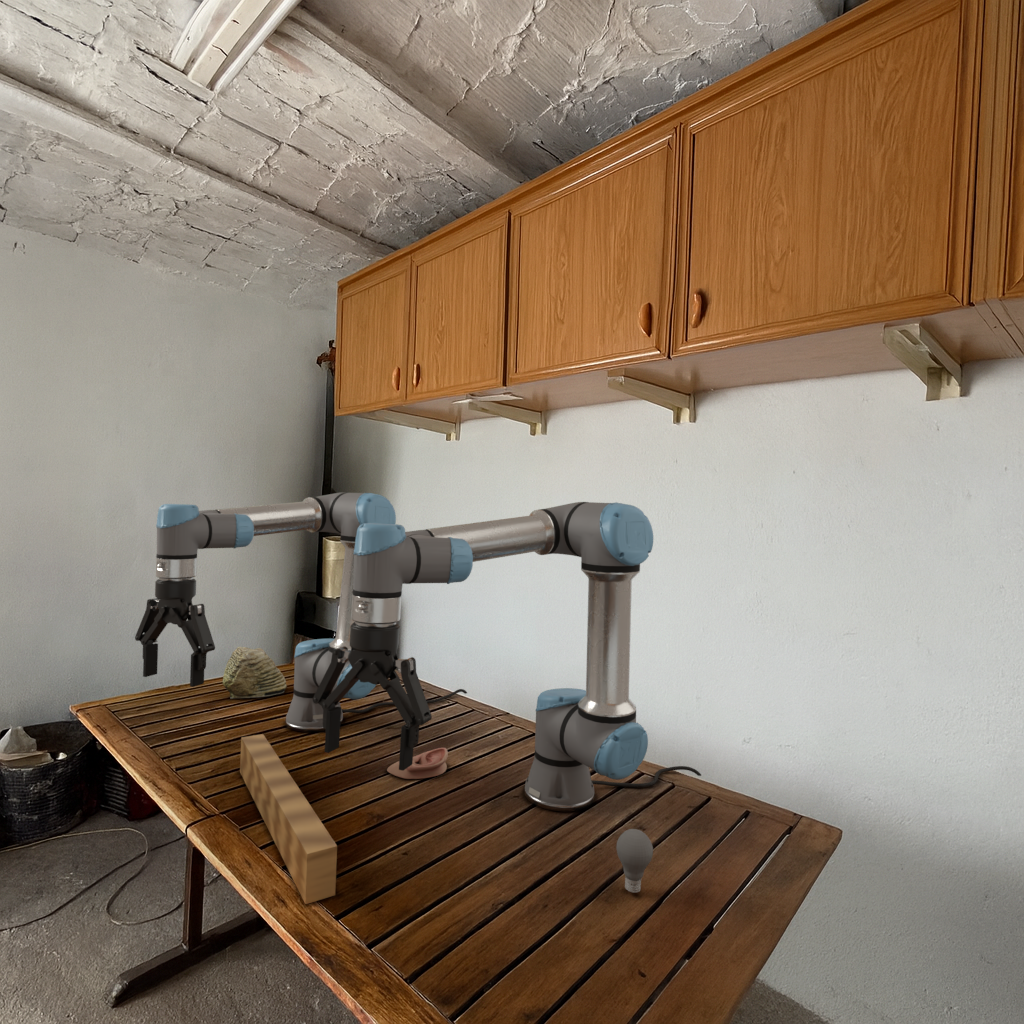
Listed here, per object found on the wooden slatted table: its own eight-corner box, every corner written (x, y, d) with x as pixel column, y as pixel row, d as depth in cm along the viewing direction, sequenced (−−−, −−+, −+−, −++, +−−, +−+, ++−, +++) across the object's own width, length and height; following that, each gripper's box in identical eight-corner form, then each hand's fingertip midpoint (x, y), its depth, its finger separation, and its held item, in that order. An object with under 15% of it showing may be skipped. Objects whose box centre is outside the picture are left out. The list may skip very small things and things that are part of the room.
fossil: (218, 695, 195) (220, 647, 195) (278, 685, 208) (279, 640, 207) (228, 703, 189) (230, 653, 188) (289, 692, 201) (290, 645, 201)
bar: (239, 772, 144) (241, 737, 143) (261, 768, 146) (263, 733, 146) (305, 904, 99) (307, 853, 99) (335, 895, 101) (337, 845, 101)
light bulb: (610, 879, 108) (613, 822, 108) (644, 879, 109) (647, 822, 109) (619, 902, 102) (622, 840, 102) (655, 901, 103) (658, 840, 103)
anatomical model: (382, 758, 144) (400, 740, 156) (381, 775, 145) (400, 756, 156) (437, 765, 142) (452, 746, 153) (436, 783, 142) (451, 763, 153)
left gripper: (117, 575, 133) (114, 675, 133) (205, 585, 123) (201, 694, 123) (150, 571, 140) (147, 667, 140) (235, 581, 130) (232, 684, 130)
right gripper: (294, 616, 100) (287, 750, 100) (434, 636, 91) (426, 784, 91) (325, 610, 107) (318, 735, 107) (458, 628, 97) (450, 765, 98)
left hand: (173, 680), depth 132 cm, fingers open, 13 cm apart
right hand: (367, 758), depth 99 cm, fingers open, 13 cm apart
